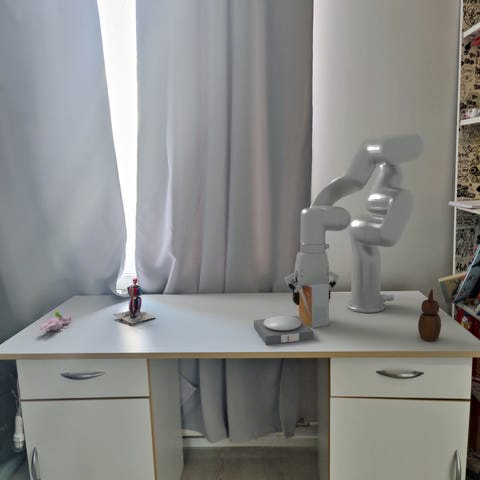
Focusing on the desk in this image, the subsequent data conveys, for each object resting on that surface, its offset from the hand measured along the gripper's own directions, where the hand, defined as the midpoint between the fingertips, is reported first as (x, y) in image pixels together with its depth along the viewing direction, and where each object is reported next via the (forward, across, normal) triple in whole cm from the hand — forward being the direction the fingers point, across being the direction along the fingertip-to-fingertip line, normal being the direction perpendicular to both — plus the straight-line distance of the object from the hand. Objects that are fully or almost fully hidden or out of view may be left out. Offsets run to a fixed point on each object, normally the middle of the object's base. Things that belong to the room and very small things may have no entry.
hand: (311, 302), depth 152 cm
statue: (+8, +54, -21) cm, 59 cm away
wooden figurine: (+6, -27, +22) cm, 35 cm away
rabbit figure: (+9, +78, -19) cm, 81 cm away
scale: (+7, +11, +6) cm, 14 cm away
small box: (+7, -1, 0) cm, 7 cm away
